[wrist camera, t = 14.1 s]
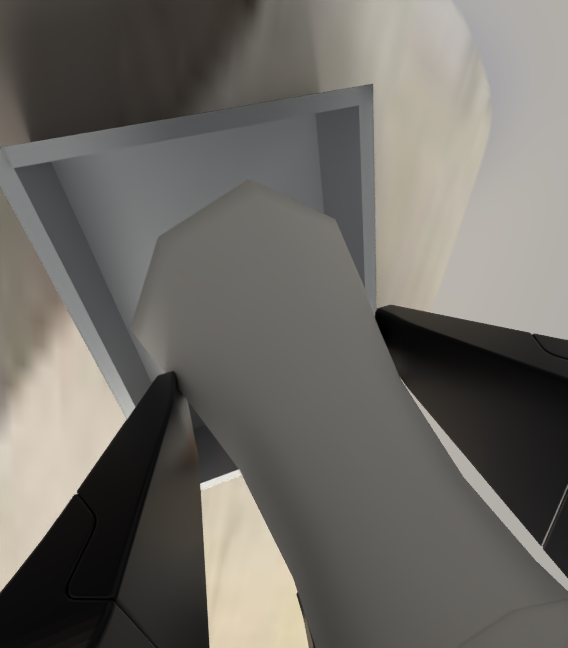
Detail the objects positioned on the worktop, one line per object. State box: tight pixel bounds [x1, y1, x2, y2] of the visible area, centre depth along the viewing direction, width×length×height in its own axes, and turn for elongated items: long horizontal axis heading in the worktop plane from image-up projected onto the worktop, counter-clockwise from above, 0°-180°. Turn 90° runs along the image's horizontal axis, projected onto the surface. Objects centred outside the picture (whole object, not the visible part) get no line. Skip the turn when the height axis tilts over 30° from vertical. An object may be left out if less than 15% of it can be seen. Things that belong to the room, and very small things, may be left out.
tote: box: [0, 84, 376, 491], centre depth 19 cm, size 18×13×5 cm
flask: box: [130, 179, 568, 648], centre depth 7 cm, size 7×7×10 cm
